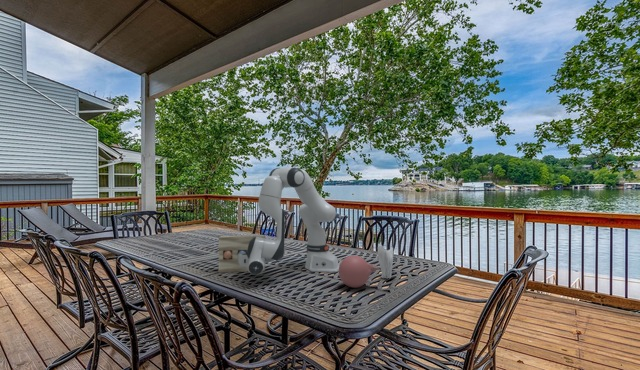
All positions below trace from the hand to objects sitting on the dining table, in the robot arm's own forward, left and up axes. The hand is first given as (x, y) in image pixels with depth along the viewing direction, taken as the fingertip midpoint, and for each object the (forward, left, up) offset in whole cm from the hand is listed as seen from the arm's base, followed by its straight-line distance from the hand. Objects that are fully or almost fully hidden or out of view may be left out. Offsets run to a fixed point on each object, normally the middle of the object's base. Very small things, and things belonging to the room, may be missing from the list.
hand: (256, 254), depth 175 cm
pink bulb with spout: (-61, +10, -10) cm, 62 cm away
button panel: (+11, -3, -10) cm, 15 cm away
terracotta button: (+15, +6, -2) cm, 16 cm away
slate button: (+7, +3, -2) cm, 8 cm away
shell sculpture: (-73, -9, -10) cm, 74 cm away
